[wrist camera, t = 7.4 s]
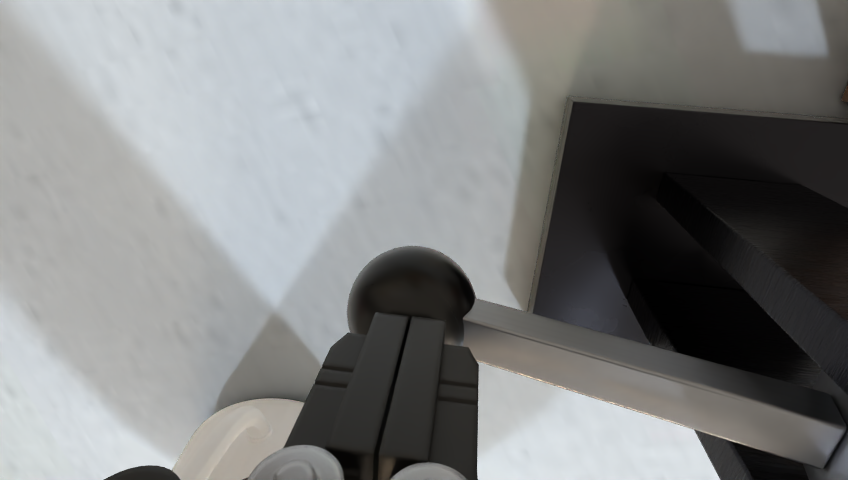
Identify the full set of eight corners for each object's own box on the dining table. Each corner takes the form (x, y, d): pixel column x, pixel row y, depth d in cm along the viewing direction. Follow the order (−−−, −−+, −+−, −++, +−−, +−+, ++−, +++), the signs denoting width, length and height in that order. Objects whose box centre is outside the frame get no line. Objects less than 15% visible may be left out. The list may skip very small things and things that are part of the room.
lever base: (525, 317, 20) (577, 661, 9) (567, 95, 16) (737, 242, 5) (801, 349, 19) (1210, 766, 8) (914, 123, 15) (1932, 362, 5)
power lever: (382, 314, 14) (322, 380, 12) (385, 216, 13) (318, 264, 10) (929, 479, 10) (1034, 643, 7) (1019, 359, 9) (1190, 506, 6)
